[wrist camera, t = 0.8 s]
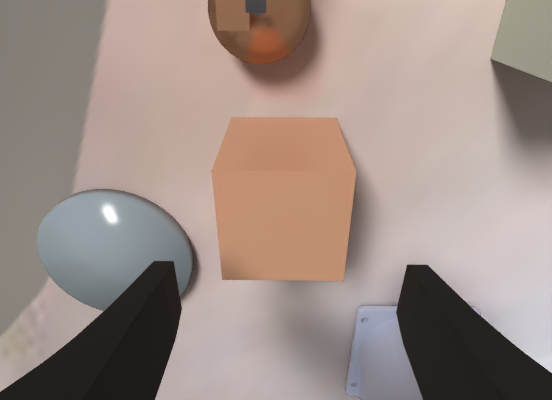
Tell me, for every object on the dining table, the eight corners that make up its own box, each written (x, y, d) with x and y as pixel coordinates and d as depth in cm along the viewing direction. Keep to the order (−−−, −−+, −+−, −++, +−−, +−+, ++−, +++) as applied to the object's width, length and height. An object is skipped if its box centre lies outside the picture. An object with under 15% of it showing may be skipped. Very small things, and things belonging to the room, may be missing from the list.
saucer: (200, 306, 25) (198, 315, 25) (68, 304, 26) (62, 313, 25) (183, 189, 21) (180, 196, 20) (22, 188, 21) (13, 195, 20)
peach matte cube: (328, 207, 21) (343, 280, 16) (237, 206, 21) (222, 279, 16) (336, 118, 19) (356, 171, 13) (231, 117, 19) (211, 170, 14)
